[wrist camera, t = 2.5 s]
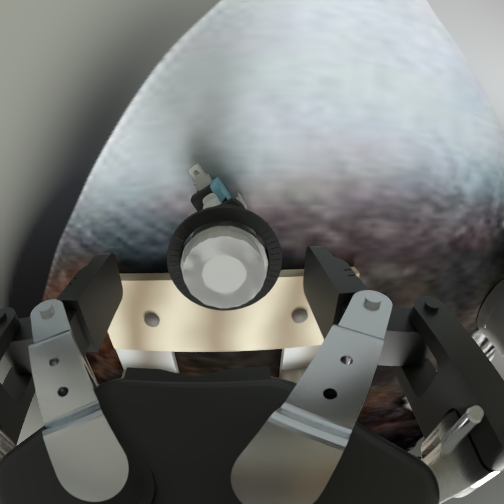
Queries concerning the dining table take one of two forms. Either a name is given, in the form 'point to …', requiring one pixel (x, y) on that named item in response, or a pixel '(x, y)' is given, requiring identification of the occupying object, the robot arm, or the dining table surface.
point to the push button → (222, 250)
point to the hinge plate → (212, 324)
